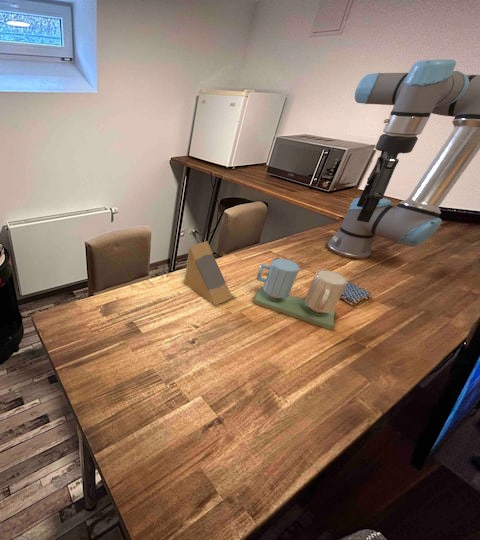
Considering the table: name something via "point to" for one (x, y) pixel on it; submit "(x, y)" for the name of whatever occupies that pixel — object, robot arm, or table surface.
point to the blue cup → (279, 277)
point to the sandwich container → (205, 274)
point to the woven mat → (354, 293)
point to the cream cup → (325, 290)
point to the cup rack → (295, 309)
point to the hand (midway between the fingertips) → (362, 213)
